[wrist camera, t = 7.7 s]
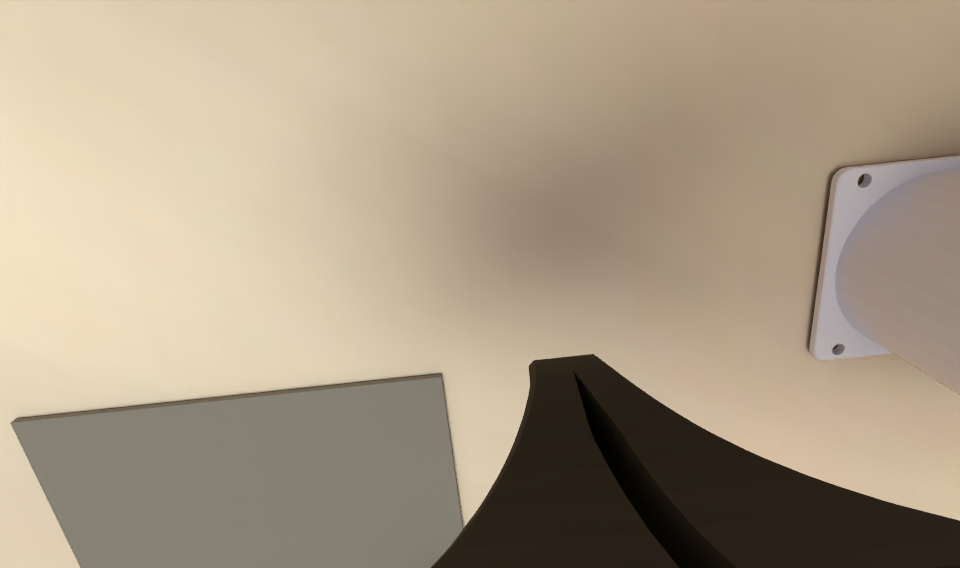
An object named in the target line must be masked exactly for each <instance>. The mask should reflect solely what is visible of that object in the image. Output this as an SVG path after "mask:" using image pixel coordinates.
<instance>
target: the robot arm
mask: <svg viewBox="0 0 960 568" xmlns="http://www.w3.org/2000/svg"><path fill="white" fill-rule="evenodd" d="M863 174H864V180H863V182H862V183H861V184H860V185H858V183H857V181H858V179H859V177H860V176H861V175H863ZM837 344H838V347H837V348H836V349H835V350H832V349H833V347H834V346H835V345H837ZM809 350H810V353H811V355H812V356H813V357H815V358H816V359H818V360H820V361H827V360H836V359H846V358H855V357H865V356H874V355H883V354H894V355H896V356H898V357H899V358H901V359H902V360H904V361H906V362H907V363H909V364H910V365H912V366H914V367H915V368H917V369H919V370H920V371H922V372H923V373H925V374H927V375H928V376H930V377H932V378H933V379H935V380H936V381H938V382H940V383H941V384H943V385H944V386H946V387H948V388H949V389H951V390H953V391H954V392H956V393H957V394H959V395H960V155H956V156H946V157H937V158H927V159H918V160H909V161H899V162H890V163H880V164H871V165H861V166H852V167H845V168H842V169H840V170H839V171H837V172H836V174H835V175H834V176H833V179H832V182H831V189H830V197H829V204H828V212H827V219H826V227H825V234H824V242H823V249H822V257H821V264H820V272H819V279H818V287H817V294H816V302H815V309H814V317H813V324H812V332H811V339H810V347H809ZM529 375H530V390H529V396H528V400H527V404H526V408H525V412H524V416H523V419H522V422H521V425H520V428H519V430H518V433H517V436H516V439H515V442H514V444H513V446H512V449H511V451H510V453H509V456H508V458H507V460H506V462H505V464H504V466H503V468H502V470H501V472H500V474H499V476H498V477H497V479H496V481H495V483H494V484H493V486H492V488H491V489H490V491H489V493H488V494H487V496H486V498H485V499H484V501H483V502H482V504H481V506H480V507H479V509H478V510H477V511H476V513H475V514H474V516H473V517H472V518H471V520H470V521H469V522H468V523H467V525H466V526H465V527H464V529H463V530H462V531H461V533H460V534H459V535H458V537H457V538H456V539H455V540H454V542H453V543H452V544H451V546H450V547H449V548H448V549H447V550H446V551H445V553H444V554H443V555H442V556H441V557H440V558H439V559H438V560H437V561H436V562H435V563H434V564H433V566H432V567H431V568H960V521H959V520H955V519H951V518H947V517H943V516H939V515H935V514H931V513H927V512H924V511H920V510H916V509H912V508H908V507H904V506H900V505H896V504H893V503H889V502H886V501H882V500H879V499H876V498H873V497H870V496H867V495H864V494H860V493H857V492H854V491H851V490H848V489H845V488H842V487H838V486H835V485H833V484H830V483H827V482H824V481H821V480H819V479H816V478H813V477H810V476H807V475H805V474H802V473H800V472H797V471H795V470H792V469H790V468H787V467H785V466H782V465H780V464H777V463H775V462H772V461H770V460H767V459H765V458H763V457H760V456H758V455H756V454H754V453H751V452H749V451H747V450H745V449H743V448H741V447H739V446H737V445H735V444H733V443H731V442H728V441H726V440H724V439H722V438H720V437H718V436H716V435H714V434H712V433H710V432H709V431H707V430H705V429H703V428H701V427H700V426H698V425H696V424H694V423H693V422H691V421H689V420H688V419H686V418H684V417H683V416H681V415H679V414H678V413H676V412H674V411H673V410H671V409H669V408H668V407H666V406H665V405H663V404H662V403H660V402H659V401H657V400H656V399H654V398H653V397H651V396H650V395H648V394H647V393H645V392H644V391H642V390H641V389H640V388H638V387H637V386H635V385H634V384H633V383H631V382H630V381H629V380H627V379H626V378H624V377H623V376H622V375H620V374H619V373H618V372H616V371H615V370H614V369H613V368H611V367H610V366H609V365H607V364H606V363H605V362H603V361H602V360H601V359H599V358H598V357H596V356H595V355H594V354H590V355H581V356H571V357H562V358H553V359H543V360H534V361H533V362H532V363H531V364H530V365H529Z"/></svg>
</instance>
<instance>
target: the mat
mask: <svg viewBox="0 0 960 568" xmlns="http://www.w3.org/2000/svg"><path fill="white" fill-rule="evenodd" d="M11 425H12V427H13V429H14V431H15V433H16V435H17V438H18V440H19V442H20V444H21V446H22V448H23V450H24V452H25V454H26V456H27V458H28V460H29V462H30V464H31V466H32V468H33V471H34V473H35V475H36V477H37V479H38V481H39V483H40V485H41V487H42V489H43V491H44V493H45V495H46V497H47V499H48V501H49V504H50V506H51V508H52V510H53V512H54V514H55V516H56V518H57V520H58V522H59V524H60V526H61V528H62V530H63V532H64V534H65V537H66V539H67V541H68V543H69V545H70V547H71V549H72V551H73V553H74V555H75V557H76V559H77V561H78V563H79V565H80V567H81V568H431V567H432V566H433V564H434V563H435V562H436V561H437V560H438V559H439V558H440V557H441V556H442V555H443V554H444V553H445V551H446V550H447V549H448V548H449V547H450V546H451V544H452V543H453V542H454V540H455V539H456V538H457V537H458V535H459V534H460V533H461V531H462V530H463V523H462V515H461V508H460V501H459V494H458V487H457V480H456V473H455V466H454V459H453V452H452V445H451V438H450V431H449V424H448V417H447V410H446V403H445V395H444V388H443V381H442V374H433V375H424V376H414V377H405V378H395V379H386V380H377V381H367V382H358V383H348V384H339V385H329V386H320V387H311V388H301V389H292V390H282V391H273V392H263V393H254V394H245V395H235V396H226V397H216V398H207V399H197V400H188V401H179V402H169V403H160V404H150V405H141V406H131V407H122V408H113V409H103V410H94V411H84V412H75V413H65V414H56V415H47V416H37V417H28V418H18V419H15V420H14V421H12V422H11Z"/></svg>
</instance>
